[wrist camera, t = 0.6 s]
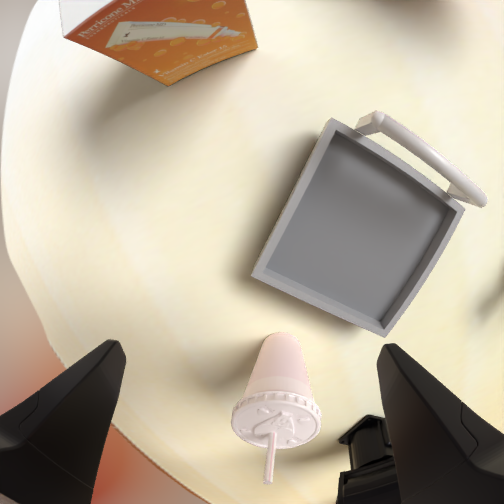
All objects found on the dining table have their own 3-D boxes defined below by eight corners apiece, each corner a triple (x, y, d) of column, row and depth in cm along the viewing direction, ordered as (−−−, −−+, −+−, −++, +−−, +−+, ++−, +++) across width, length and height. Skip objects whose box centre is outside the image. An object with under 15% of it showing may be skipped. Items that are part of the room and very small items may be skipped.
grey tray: (374, 315, 24) (399, 372, 16) (256, 259, 23) (241, 306, 16) (448, 192, 19) (504, 210, 12) (329, 114, 19) (351, 91, 11)
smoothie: (240, 361, 27) (209, 483, 14) (259, 311, 25) (232, 447, 12) (299, 377, 27) (297, 499, 14) (326, 331, 25) (344, 465, 11)
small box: (168, 88, 19) (58, 41, 7) (148, 34, 18) (54, -26, 5) (261, 49, 18) (230, -55, 5) (234, -4, 16) (190, -102, 4)
